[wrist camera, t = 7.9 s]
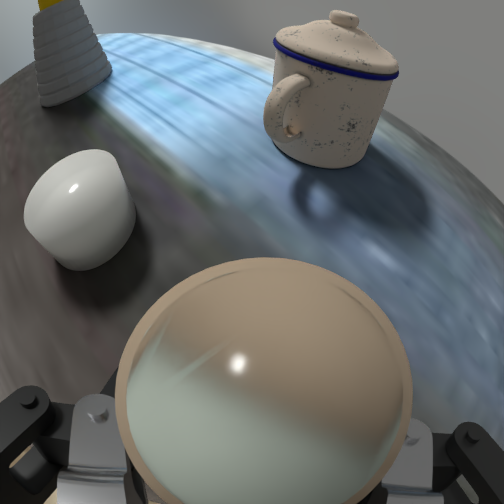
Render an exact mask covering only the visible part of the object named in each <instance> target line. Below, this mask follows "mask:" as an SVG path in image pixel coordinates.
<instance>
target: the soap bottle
mask: <svg viewBox="0 0 504 504" xmlns="http://www.w3.org/2000/svg"><path fill="white" fill-rule="evenodd" d="M38 4H39V8H40V12H38V13H36V14H35V15H34V16H33V25H34V27H33V36H34V39H33V43H34V49H35V50H34V57H35V60H36V61H35V68H36V71H37V72H36V77H37V82H38V91H39V98H40V103H41V105H42V106H45V107H51V106H56V105H60V104H62V103H64V102H67V101H69V100H72V99H74V98H76V97H78V96H80V95H81V94H83V93H85V92H87V91H89V90H91V89H92V88H94V87H95V86H97V85H98V84H100V83H101V82H102V81H104V80H105V79H106V78H107V77H108V76H109V75H110V72H111V70H112V66H111V64H110V62H109V61H108V60H107V56H106V54H105V52H103V51H102V50H103V49H102V46H101V44H100V43H99V42H98V39H97V36H96V34H95V33H93V28H92V26H91V24H89V20H88V18H87V16H86V15H85V14H84V10H83V7H82V5H80V1H79V0H38Z"/></svg>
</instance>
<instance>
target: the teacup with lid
mask: <svg viewBox="0 0 504 504" xmlns="http://www.w3.org/2000/svg"><path fill="white" fill-rule="evenodd" d="M329 19H330V20H317V21H313V22H310V23H308V24H305V25H302V26H290V27H286V28H283V29H282V30H280V31H279V32H278V33H277V34H276V37H275V38H274V40H273V43H274V46H275V47H276V56H275V66H274V77H273V87H272V91H271V93H270V94H269V96H268V98H267V100H266V103H265V107H264V115H263V120H264V127H265V130H266V132H267V134H268V135H269V136H270V137H271V139H272V140H273V142H274V143H275V144H276V146H277V147H278V148H279V149H280V150H282V151H283V152H284V153H286V154H287V155H289V156H290V157H292V158H294V159H296V160H298V161H300V162H303V163H306V164H309V165H312V166H316V167H322V168H344V167H348V166H351V165H354V164H356V163H357V162H359V161H360V160H361V159H362V158H363V156H364V155H365V153H366V150H367V148H368V145H369V143H370V140H371V138H372V135H373V133H374V130H375V128H376V125H377V122H378V120H379V117H380V115H381V112H382V109H383V107H384V104H385V101H386V99H387V96H388V93H389V90H390V87H391V85H392V82H393V79H396V78H397V77H398V74H399V71H398V68H399V67H398V63H397V61H396V59H395V58H394V57H393V56H392V55H391V54H390V53H389V52H388V51H386V50H385V49H383V48H381V47H380V46H379V45H378V44H377V43H376V42H375V41H374V40H373V38H372V37H371V36H370V35H368V34H367V33H366V32H364V31H362V30H361V29H359V28H357V26H358V24H359V19H358V17H357V16H356V15H353V14H351V13H347V12H344V11H339V10H333V11H331V12H330V16H329Z"/></svg>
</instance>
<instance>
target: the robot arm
mask: <svg viewBox="0 0 504 504" xmlns="http://www.w3.org/2000/svg"><path fill="white" fill-rule="evenodd" d="M118 368H119V366H118ZM118 368H117V369H116V371H115V372H114V374H113V375H112V376H111V378H110V379H109V381H108V382H107V384H106V385H105V387H104V388H103V390H102V391H101V393H100V394H91V395H88V396H85V397H83V398H82V399H80V400H79V401H78V402H77V403H76V405H71V404H63V403H56V402H51V401H50V399H49V397H48V394H47V393H46V391H44V390H43V389H42V388H40V387H37V386H24V387H21V388H19V389H17V390H16V391H15V392H13V393H12V394H11V395H10V396H8V397H7V398H6V399H4V400H3V401H2V402H1V403H0V504H44V502H45V501H46V500H47V499H48V498H49V497H50V496H51V494H52V493H53V492H54V491H55V490H56V489H57V504H149V503H148V499H147V494H146V489H145V483H144V479H143V478H142V477H141V475H140V474H139V473H138V471H137V470H136V468H135V467H134V465H133V463H132V461H131V459H130V458H129V456H128V454H127V452H126V449H125V447H124V444H123V441H122V439H121V436H120V432H119V428H118V423H117V418H116V409H115V387H116V377H117V373H118ZM32 443H33V445H34V446H33V447H32V448H31V449H30V450H29V451H28V452H27V453H26V454H25V455H24V456H23V457H22V458H21V459H20V460H19V461H18V462H17V463H16V464H15V465H14V466H12V467H11V468H9V467H10V465H11V463H12V462H13V461H14V460H15V459H16V458H17V457H18V456H19V455H20V454H21V453H22V452H23V451H24V450H25V449H26V448H27V447H28V446H29V445H31V444H32ZM461 474H463V476H464V477H465V478H466V480H467V481H468V482H469V484H470V485H471V487H472V488H473V489H474V491H475V492H476V494H477V495H478V497H479V504H504V451H503V450H502V449H501V448H500V447H499V446H498V444H497V443H496V442H495V441H494V440H493V439H492V438H491V436H490V435H489V434H488V433H487V432H486V431H485V430H484V429H483V428H482V427H481V426H480V425H478V424H476V423H473V422H464V423H461V424H460V425H458V427H457V428H456V429H455V430H454V432H453V433H452V434H441V433H431V431H430V429H429V428H428V426H427V425H426V424H424V423H423V422H421V421H419V420H416V419H413V418H410V423H409V427H408V431H407V434H406V437H405V440H404V442H403V445H402V447H401V450H400V452H399V454H398V456H397V457H396V459H395V461H394V463H393V465H392V466H391V468H390V469H389V470H388V472H387V473H386V475H385V476H384V477H383V479H382V480H381V481H380V482H379V483H378V484H377V486H376V487H375V488H374V489H373V490H372V491H371V492H370V493H369V494H368V495H367V496H366V497H364V498H363V499H362V500H361V501H359V502H358V503H357V504H473V503H472V502H471V501H470V500H469V498H468V497H467V495H466V494H465V493H464V491H463V490H462V488H461V487H460V485H459V484H458V482H457V481H456V479H457V478H458V477H459V476H460V475H461Z"/></svg>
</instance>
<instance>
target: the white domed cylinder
mask: <svg viewBox="0 0 504 504" xmlns="http://www.w3.org/2000/svg"><path fill="white" fill-rule="evenodd" d="M135 219H136V210H135V205H134V202H133V200H132V198H131V196H130V193H129V191H128V188H127V186H126V184H125V181H124V179H123V176H122V174H121V172H120V169H119V167H118V164H117V162H116V159H115V158H114V157H113V156H112V155H111V154H110V153H108V152H106V151H103V150H97V149H92V150H85V151H80V152H77V153H74V154H72V155H70V156H68V157H66V158H64V159H62V160H61V161H59V162H58V163H56V164H55V165H53V166H52V167H51V168H50V169H49V170H48V171H46V172H45V173H44V174H43V176H42V177H41V178H40V179H39V180H38V181H37V183H36V184H35V186H34V187H33V189H32V190H31V192H30V194H29V196H28V198H27V201H26V204H25V209H24V221H25V225H26V227H27V229H28V230H29V232H30V233H31V234H32V235H33V236H34V237H35V238H36V239H37V241H38V242H39V243H40V244H41V245H42V246H43V247H44V248H45V249H46V250H47V251H48V252H49V253H50V254H51V255H52V256H53V257H54V258H55V259H56V260H57V261H58V262H59V263H60V264H61V265H62V266H64V267H65V268H67V269H70V270H75V271H84V270H90V269H93V268H96V267H98V266H100V265H102V264H104V263H105V262H107V261H108V260H110V259H111V258H112V257H113V256H115V255H116V254H117V253H118V252H119V251H120V250H121V248H122V247H123V246H124V245H125V243H126V242H127V240H128V239H129V237H130V235H131V233H132V231H133V228H134V225H135Z"/></svg>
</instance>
